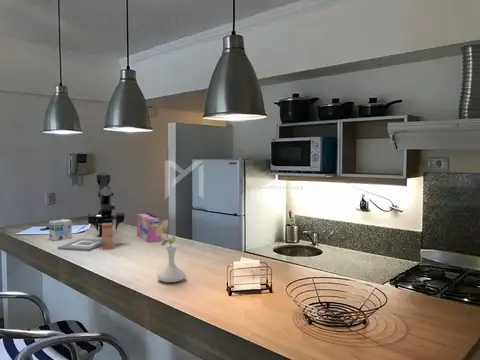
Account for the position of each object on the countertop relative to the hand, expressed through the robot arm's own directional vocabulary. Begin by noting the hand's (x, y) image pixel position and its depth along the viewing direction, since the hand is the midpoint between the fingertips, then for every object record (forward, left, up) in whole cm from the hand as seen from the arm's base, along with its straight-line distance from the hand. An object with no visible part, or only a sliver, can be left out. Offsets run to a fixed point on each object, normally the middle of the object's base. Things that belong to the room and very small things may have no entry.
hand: (107, 230), depth 214 cm
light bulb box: (-13, -37, -9) cm, 40 cm away
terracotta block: (+1, +1, -9) cm, 9 cm away
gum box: (-27, +12, -9) cm, 31 cm away
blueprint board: (-1, -14, -9) cm, 16 cm away
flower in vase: (+46, +52, -9) cm, 70 cm away
